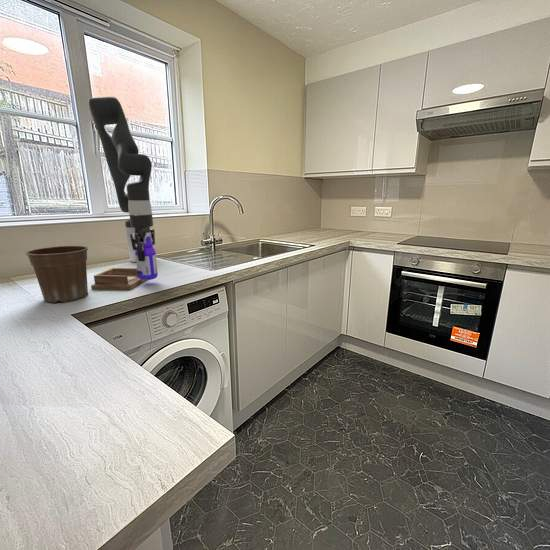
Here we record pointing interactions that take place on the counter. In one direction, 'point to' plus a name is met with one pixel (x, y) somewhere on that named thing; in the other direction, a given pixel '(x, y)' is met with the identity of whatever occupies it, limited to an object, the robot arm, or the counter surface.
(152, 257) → the bottle
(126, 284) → the rail board
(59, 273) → the plant pot
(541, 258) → the counter surface
